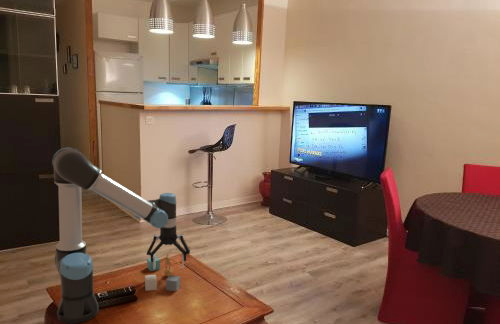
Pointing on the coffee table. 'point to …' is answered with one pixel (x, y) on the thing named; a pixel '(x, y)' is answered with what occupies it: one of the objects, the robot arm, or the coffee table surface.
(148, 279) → the cube offwhite
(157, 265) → the cube teal
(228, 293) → the coffee table surface
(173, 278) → the cube slate
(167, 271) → the figurine
